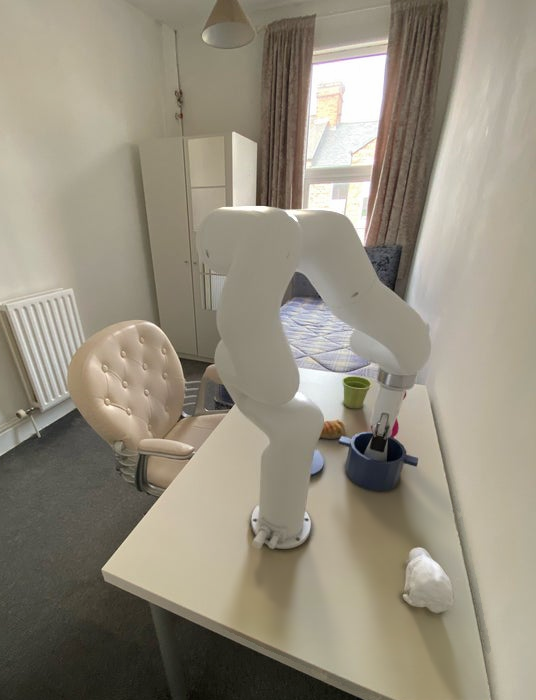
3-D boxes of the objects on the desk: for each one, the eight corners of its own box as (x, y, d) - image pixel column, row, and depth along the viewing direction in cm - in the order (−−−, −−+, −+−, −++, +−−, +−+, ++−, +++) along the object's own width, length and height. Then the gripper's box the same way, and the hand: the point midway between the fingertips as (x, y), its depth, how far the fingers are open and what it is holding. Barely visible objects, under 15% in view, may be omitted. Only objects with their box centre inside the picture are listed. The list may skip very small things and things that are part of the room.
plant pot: (335, 406, 114) (338, 384, 110) (342, 395, 121) (346, 373, 116) (363, 414, 110) (368, 391, 105) (369, 402, 116) (374, 379, 112)
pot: (406, 502, 76) (416, 474, 72) (329, 476, 84) (334, 449, 80) (411, 470, 86) (420, 443, 82) (341, 449, 94) (346, 424, 89)
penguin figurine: (416, 580, 51) (407, 525, 62) (403, 616, 55) (396, 558, 65) (462, 594, 49) (445, 535, 60) (446, 629, 53) (432, 568, 63)
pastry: (317, 442, 96) (319, 431, 95) (308, 429, 102) (309, 419, 100) (347, 437, 98) (349, 427, 96) (336, 425, 104) (337, 415, 102)
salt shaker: (386, 466, 85) (399, 423, 78) (382, 479, 81) (394, 435, 74) (363, 458, 88) (373, 416, 81) (357, 470, 84) (367, 428, 77)
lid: (314, 486, 81) (316, 468, 78) (263, 467, 87) (264, 450, 84) (329, 454, 91) (332, 438, 89) (283, 440, 97) (284, 424, 95)
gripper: (383, 359, 79) (368, 423, 88) (370, 388, 67) (354, 459, 76) (418, 365, 76) (399, 431, 85) (411, 397, 63) (389, 470, 73)
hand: (378, 443), depth 80 cm, fingers closed on salt shaker, 4 cm apart
